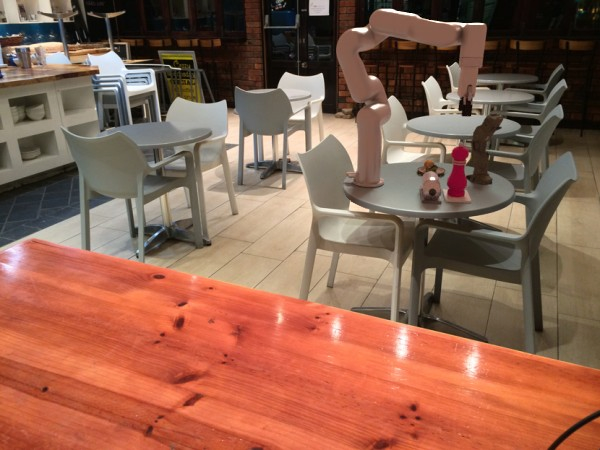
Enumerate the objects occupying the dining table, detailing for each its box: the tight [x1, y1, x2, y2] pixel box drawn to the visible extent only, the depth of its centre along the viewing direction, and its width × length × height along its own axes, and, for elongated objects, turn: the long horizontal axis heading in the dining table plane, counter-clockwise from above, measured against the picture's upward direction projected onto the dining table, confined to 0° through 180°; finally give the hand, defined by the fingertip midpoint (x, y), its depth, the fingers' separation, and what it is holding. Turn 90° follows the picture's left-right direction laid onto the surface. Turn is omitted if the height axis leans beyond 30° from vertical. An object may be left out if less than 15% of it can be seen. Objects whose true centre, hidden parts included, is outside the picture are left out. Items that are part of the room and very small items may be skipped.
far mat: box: [442, 188, 472, 204], centre depth 184 cm, size 9×12×1 cm
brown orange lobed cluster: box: [417, 159, 446, 178], centre depth 211 cm, size 12×12×8 cm
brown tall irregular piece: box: [465, 112, 504, 185], centre depth 196 cm, size 13×7×29 cm, turn 25°
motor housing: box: [419, 171, 443, 205], centre depth 185 cm, size 7×16×7 cm, turn 170°
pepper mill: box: [446, 141, 470, 197], centre depth 180 cm, size 7×7×20 cm
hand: (464, 113), depth 172 cm, fingers open, 9 cm apart
